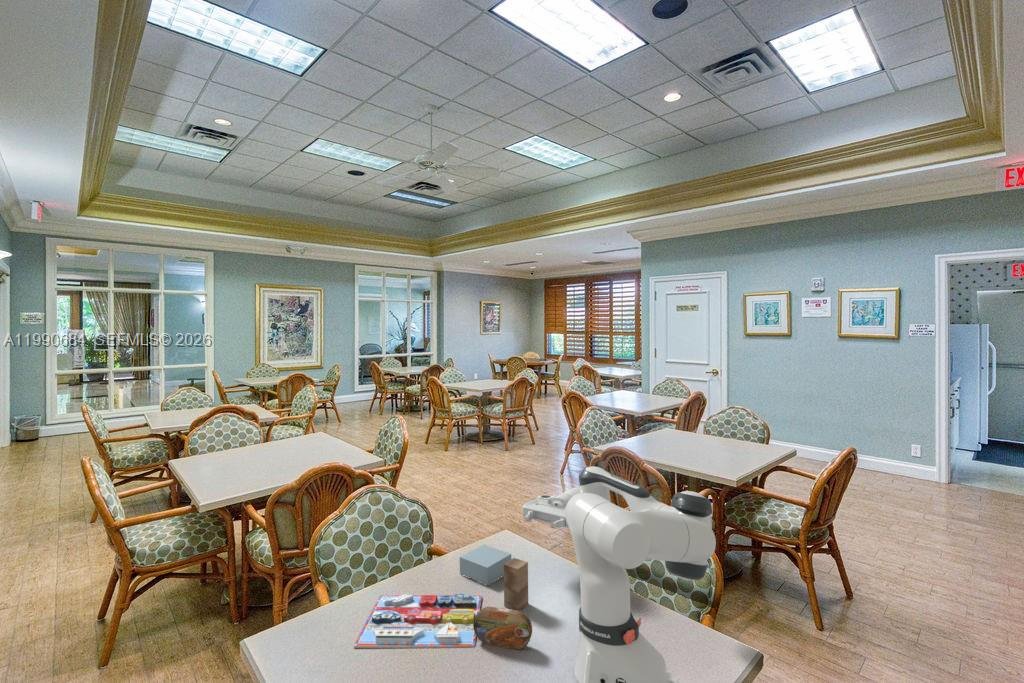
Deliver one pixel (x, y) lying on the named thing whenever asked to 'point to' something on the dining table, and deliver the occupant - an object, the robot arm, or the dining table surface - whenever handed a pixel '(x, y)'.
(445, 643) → the puzzle board
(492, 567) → the grey box
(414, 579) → the dining table surface
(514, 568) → the walnut block
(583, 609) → the robot arm
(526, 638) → the tin
